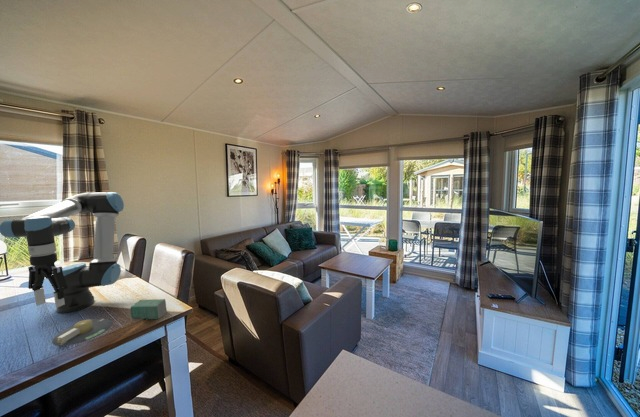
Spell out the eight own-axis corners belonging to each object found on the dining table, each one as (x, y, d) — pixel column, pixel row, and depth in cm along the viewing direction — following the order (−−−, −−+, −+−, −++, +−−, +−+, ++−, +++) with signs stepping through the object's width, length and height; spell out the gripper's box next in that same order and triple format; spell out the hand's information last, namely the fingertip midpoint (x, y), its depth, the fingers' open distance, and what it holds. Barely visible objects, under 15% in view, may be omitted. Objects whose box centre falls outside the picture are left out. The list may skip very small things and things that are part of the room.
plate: (38, 347, 104) (37, 344, 104) (86, 320, 124) (85, 317, 124) (82, 349, 103) (81, 346, 102) (123, 321, 122) (123, 318, 122)
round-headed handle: (84, 326, 116) (83, 319, 116) (96, 327, 116) (95, 319, 115) (52, 345, 103) (51, 337, 103) (65, 346, 103) (64, 337, 102)
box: (141, 312, 131) (139, 299, 130) (167, 311, 132) (165, 298, 131) (131, 320, 124) (129, 306, 123) (158, 319, 124) (157, 305, 123)
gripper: (9, 255, 100) (18, 307, 103) (53, 258, 96) (61, 311, 99) (33, 250, 107) (40, 298, 110) (75, 252, 104) (82, 302, 107)
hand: (50, 304), depth 105 cm, fingers open, 9 cm apart
